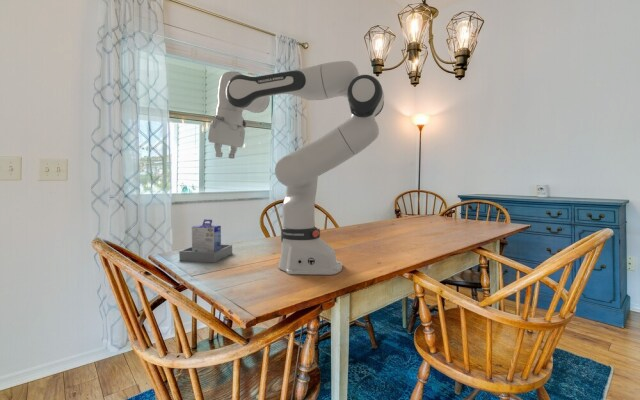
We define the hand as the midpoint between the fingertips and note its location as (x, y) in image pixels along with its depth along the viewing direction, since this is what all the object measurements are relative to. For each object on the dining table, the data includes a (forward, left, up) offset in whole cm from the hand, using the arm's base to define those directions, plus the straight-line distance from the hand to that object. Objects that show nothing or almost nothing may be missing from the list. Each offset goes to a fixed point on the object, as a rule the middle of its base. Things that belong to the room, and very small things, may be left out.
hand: (225, 157), depth 121 cm
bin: (+11, -4, -38) cm, 40 cm away
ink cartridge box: (+11, -4, -38) cm, 40 cm away
